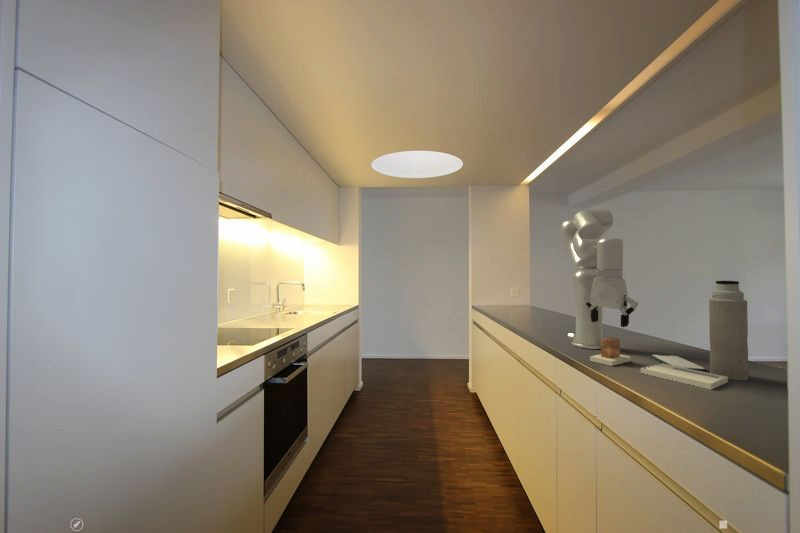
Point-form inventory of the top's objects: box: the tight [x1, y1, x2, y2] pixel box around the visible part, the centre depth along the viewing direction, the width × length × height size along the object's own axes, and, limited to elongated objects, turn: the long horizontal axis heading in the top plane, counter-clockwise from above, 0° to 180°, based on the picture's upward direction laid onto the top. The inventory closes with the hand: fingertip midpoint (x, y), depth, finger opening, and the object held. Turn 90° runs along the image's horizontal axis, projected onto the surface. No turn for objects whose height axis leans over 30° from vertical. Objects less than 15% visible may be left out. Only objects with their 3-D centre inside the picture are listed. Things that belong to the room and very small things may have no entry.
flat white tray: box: [640, 362, 729, 391], centre depth 95 cm, size 16×12×2 cm
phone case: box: [650, 354, 708, 373], centre depth 109 cm, size 9×2×16 cm
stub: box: [589, 337, 632, 367], centre depth 112 cm, size 7×12×8 cm, turn 120°
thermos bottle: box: [708, 280, 749, 381], centre depth 97 cm, size 8×8×28 cm
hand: (609, 323), depth 113 cm, fingers open, 9 cm apart
